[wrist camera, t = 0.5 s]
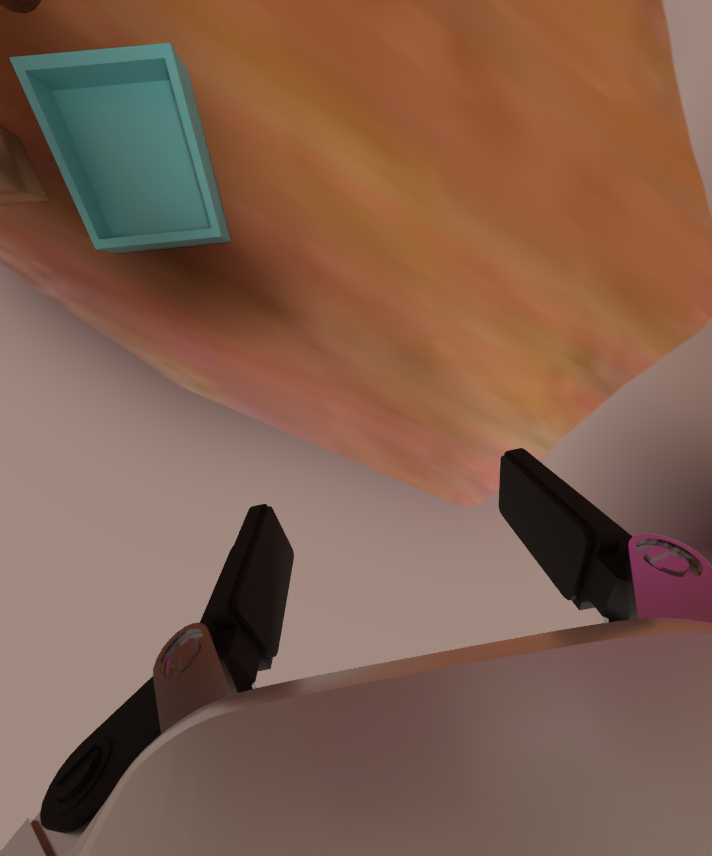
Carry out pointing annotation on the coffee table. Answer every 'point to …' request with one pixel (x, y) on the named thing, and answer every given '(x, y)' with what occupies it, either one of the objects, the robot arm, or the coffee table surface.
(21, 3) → the metal tin
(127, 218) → the teal tray
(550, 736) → the robot arm
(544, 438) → the coffee table surface
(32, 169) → the walnut block
